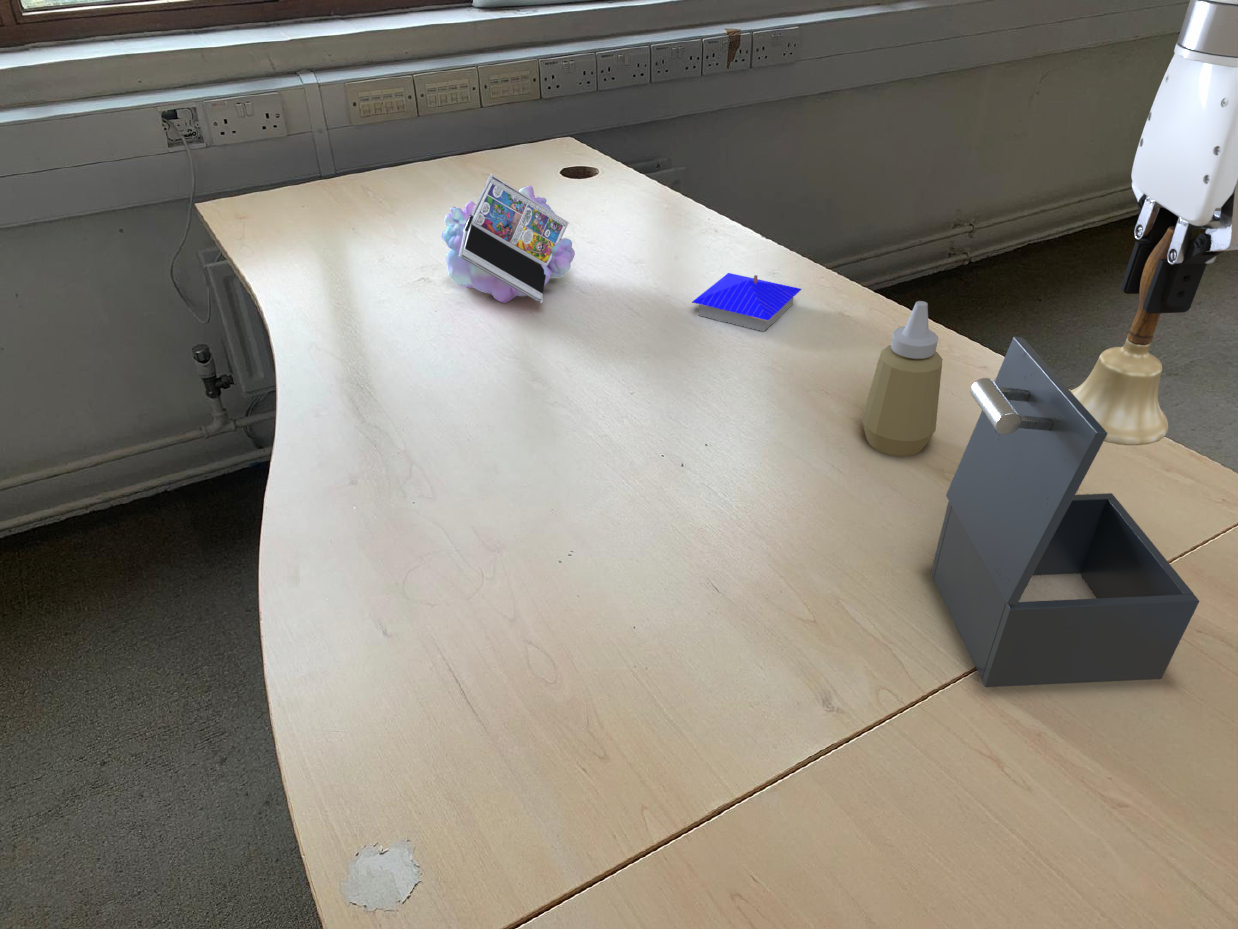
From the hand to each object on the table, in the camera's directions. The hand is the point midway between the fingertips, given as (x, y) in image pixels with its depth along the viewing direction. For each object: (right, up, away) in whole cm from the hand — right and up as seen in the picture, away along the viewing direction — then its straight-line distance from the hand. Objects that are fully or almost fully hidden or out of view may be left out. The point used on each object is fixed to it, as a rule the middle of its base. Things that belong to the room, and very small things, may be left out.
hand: (1153, 299), depth 67 cm
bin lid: (-9, -13, +2) cm, 16 cm away
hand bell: (0, -9, +6) cm, 11 cm away
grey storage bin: (-3, -27, +12) cm, 30 cm away
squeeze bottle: (-8, -11, +36) cm, 38 cm away
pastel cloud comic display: (-57, +16, +75) cm, 95 cm away
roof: (-21, +10, +66) cm, 70 cm away
